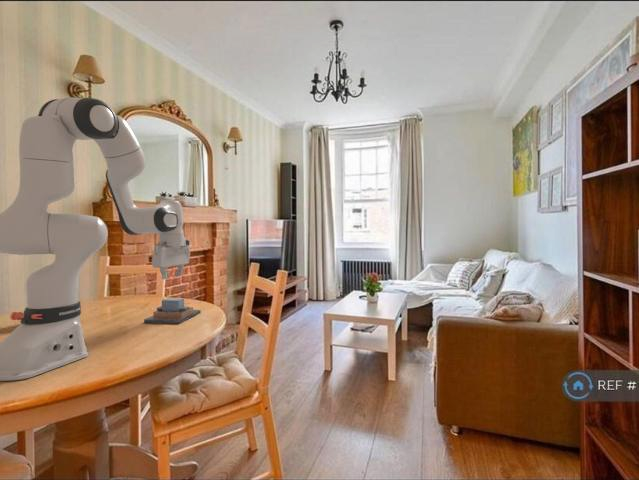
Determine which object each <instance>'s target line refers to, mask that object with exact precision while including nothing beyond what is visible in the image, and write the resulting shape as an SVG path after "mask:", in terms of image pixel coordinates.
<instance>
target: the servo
mask: <svg viewBox="0 0 639 480" xmlns="http://www.w3.org/2000/svg"><path fill="white" fill-rule="evenodd" d="M188 309H190V306H185V298H184V297H183V298H182V297H181V298H180V297H179V298H177V297H173V298H172V297H167V298H164V299H161V305H160V306H157V307H156V311H157V310H162V311H168V312H181V311H186V310H188Z"/></svg>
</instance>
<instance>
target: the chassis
mask: <svg viewBox="0 0 639 480" xmlns="http://www.w3.org/2000/svg"><path fill="white" fill-rule="evenodd" d="M189 307H190V306H189ZM152 313H153V315H152V316H149V317H147V318H144V319H143V323H145V324H170V325H171V324H173V325H180V324H182V323H184V322H186V321H188V320H190V319H192V318H194V317H196V316H198V315H199V314H201V309H194V307H192V306H191V307H190V309H188V310H186V311H181V312H168V311H162V310H157V309H156V310H153V312H152Z"/></svg>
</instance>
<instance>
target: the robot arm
mask: <svg viewBox="0 0 639 480" xmlns="http://www.w3.org/2000/svg"><path fill="white" fill-rule="evenodd" d="M77 140H80V141H84V140H85V141H88V140H93V141H94V142H95V143H96V144H97V145H98V146H99V149H100V151H101V153H102V155H103V158H104V160H105V163H106V166H107V169H106V171H105V180H106V184H107V186H108V189H109V193H110V194H111V198H112V201H113V203H114V206H115V208H116V211H117V214H118V220H119V225H120V227H121V229H122V230H123V231H124V232H125V233H126V235H127V234H128V235H130V236H137V235H145V234H147V235H149V234H150V235H151V234H152V235H153V234H158V242H156V244H155V245H154V248H153V251H152V258H151V266H152V267H153V268H154V269H159V272H160V274H161V279H162V280H168V279H169V276H170V275H169V273H167V270H168V268H169V267H175V266H176V268H177V270H176V272H175V274H176V275H175V276H176V277H182V276H183V270H184V267H185V265H188V264H189V263H190V259H191V258H190V257H191V256H190V255H191V249H190V246H191V240H189V239H187V238H186V237H185V235H184V231H183V226H184V211H183V206H182V204H181V202H180V201H178V200H174V199H172V198H171V199H169V198H168V199H166V198H164V199H161V200H160V201H159V203H158V204H157V205H154V206H149V207H147V206H146V207H139V206H137V205H135V204H134V200H133V197H132V194H131V191H130V188H129V182H130V181H131V180H133V179H135V178H137V176H139V175H141V173H143V171H144V170H145V168H146V165H147V159H146V156H145V153H144V151H143V148H142V146H141V144H140V143H139V140H138V139H137V137H136V135H135V133H134V131H133V129H132V128H131V126H130V125H129V124H128V122H127V121H126V119H125V118H124V117H122V116H121V115H118V114H116V113H115V112H114V110H113V108H112V107H111V106H109V104H107V103H106V102H104V101H103V100H101V99H97V98H93V97H73V96H72V97H71V96H69V97H64V98H56V99H51V100H49V101H46V102H45V103H44V104H43V105H42V106H41V107H40V109H39V112H38V115H37V116H32V117H28V118H26V119H24V120H23V122H22V124H21V128H20V135H19V146H18V155H19V156H18V157H19V188H18V192H17V195H16V197H15V198H14V201H13V202H12V203H11V204H10V205H9V207H7V209H5V210H4V211H2V212H1V213H0V254H7V255H18V256H22V255H24V256H25V255H48V254H49V255H54V256H55V257H54V261H53V262H51V263H50V264H48V265H46V266H44V267H41V268H39V269H37V270H35V271H34V272H32V273H31V274H30V275H29V276H28V278H27V279H26V284H25V285H26V287H25V288H26V307H25V308H24V311H23V312H22V311H19V312H17V311H13V312H12V313H11V314H9V319H10V320H11V321H20V324H19V325H18V326H17V327H16V328H14V330H13V331H11V332H10V333H9V334H8V335H7V336H6V337H5V338H4V339H3V340H2V341H1V342H0V382H1V381H5V382H6V381H7V382H8V381H19V380H27V379H29V378H30V379H31V378H33V377H36V376H38V375H42V374H44V373H46V372H49V371H52V370H55V369H57V368H59V367H63V366H66V365H68V364H70V363H73V362H76V361H78V360H81V359H85V358H87V357H88V356H89V353H88V347H87V346H86V343H85V339H84V333H83V327H82V322H81V318H80V315H81V314H82V306H81V301H79V287H80V276H81V272H82V269H83V267H84V265H85V263H86V262H87V261H88V259H89V258H90V257H92V256H93V255H94V254H95V253H96V252H97V251H99V250H101V248H103V247H104V246H105V244H106V242H107V241H108V237H109V232H108V231H109V230H108V227H107V225H106V223H105V222H104V220H102V219H101V218H100V217H99V216H94V215H90V214H89V215H88V214H83V213H50V212H48V207H49V205H50V204H53V203H56V202H58V201H61V200H63V199H66V198H68V197H69V196H71V195H72V193H73V192H74V190H75V171H74V170H75V169H74V155H73V148H74V145H75V142H76V141H77Z"/></svg>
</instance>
